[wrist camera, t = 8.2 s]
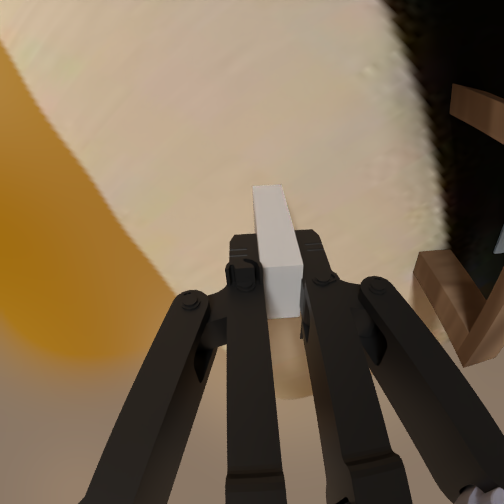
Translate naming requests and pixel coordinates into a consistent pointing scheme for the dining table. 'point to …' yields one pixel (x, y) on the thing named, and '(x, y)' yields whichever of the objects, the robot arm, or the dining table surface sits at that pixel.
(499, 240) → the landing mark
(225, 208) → the dining table surface
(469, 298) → the bridge
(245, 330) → the robot arm
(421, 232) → the dining table surface
